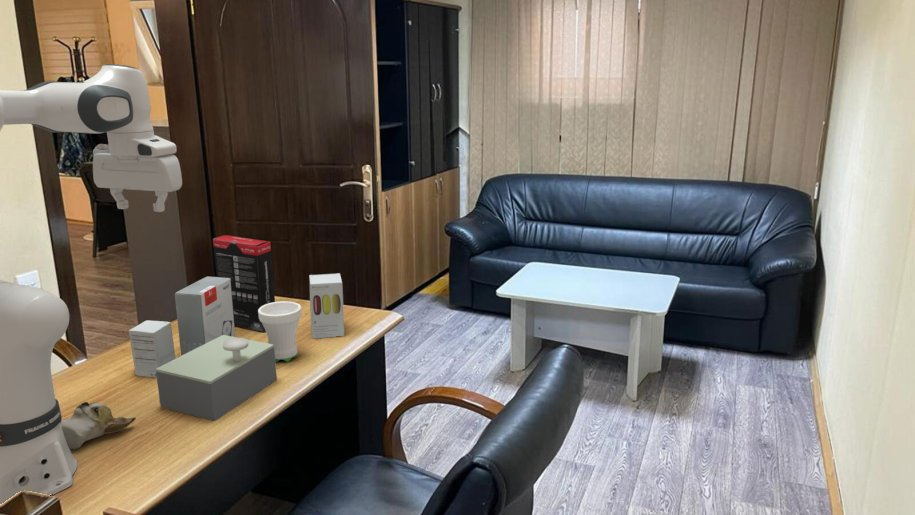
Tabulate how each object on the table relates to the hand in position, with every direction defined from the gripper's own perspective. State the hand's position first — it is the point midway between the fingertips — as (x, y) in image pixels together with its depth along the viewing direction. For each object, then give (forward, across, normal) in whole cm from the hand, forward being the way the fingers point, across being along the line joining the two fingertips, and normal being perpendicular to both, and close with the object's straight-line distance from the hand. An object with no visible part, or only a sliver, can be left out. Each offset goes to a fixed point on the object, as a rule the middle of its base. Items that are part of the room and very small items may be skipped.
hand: (141, 210), depth 145 cm
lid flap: (+37, +9, +8) cm, 39 cm away
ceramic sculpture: (+47, -5, -17) cm, 50 cm away
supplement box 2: (+47, +15, +51) cm, 71 cm away
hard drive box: (+47, -9, +27) cm, 55 cm away
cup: (+47, +12, +31) cm, 57 cm away
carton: (+46, +9, +8) cm, 48 cm away
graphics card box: (+47, -10, +48) cm, 68 cm away
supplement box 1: (+47, -15, +14) cm, 51 cm away
